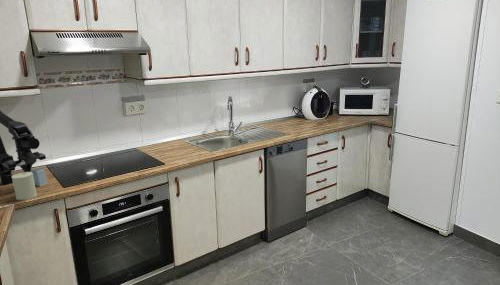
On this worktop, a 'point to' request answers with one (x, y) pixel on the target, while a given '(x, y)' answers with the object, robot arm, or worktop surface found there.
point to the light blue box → (39, 177)
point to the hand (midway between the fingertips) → (28, 175)
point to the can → (24, 185)
